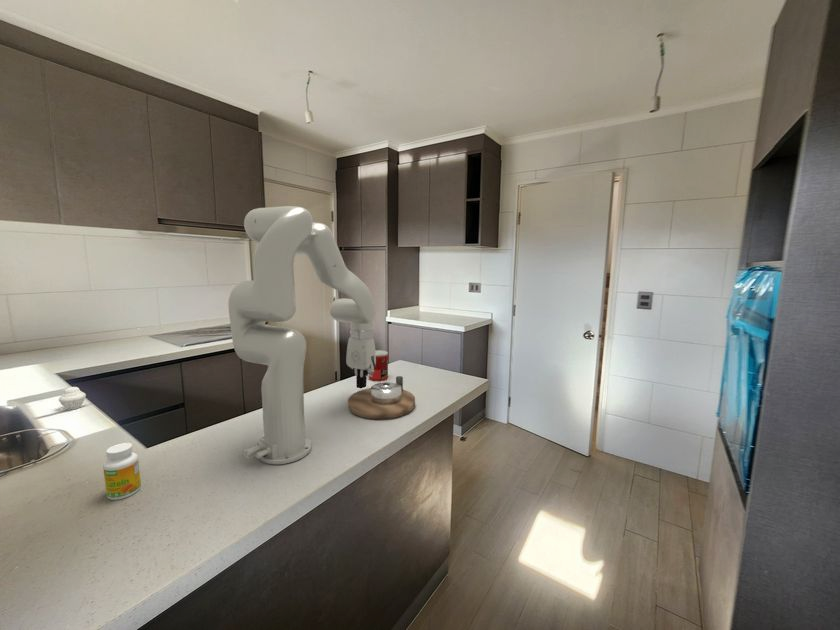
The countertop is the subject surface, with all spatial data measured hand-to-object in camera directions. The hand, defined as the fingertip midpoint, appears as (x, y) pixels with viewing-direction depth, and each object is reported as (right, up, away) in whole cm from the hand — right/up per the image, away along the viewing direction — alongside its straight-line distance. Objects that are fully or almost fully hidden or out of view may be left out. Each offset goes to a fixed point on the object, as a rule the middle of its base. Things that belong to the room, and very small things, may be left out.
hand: (361, 387), depth 121 cm
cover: (+9, -3, -4) cm, 10 cm away
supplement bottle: (-40, -12, -49) cm, 64 cm away
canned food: (+3, -2, +24) cm, 24 cm away
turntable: (+7, -6, -4) cm, 10 cm away
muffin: (-90, -5, -9) cm, 91 cm away
